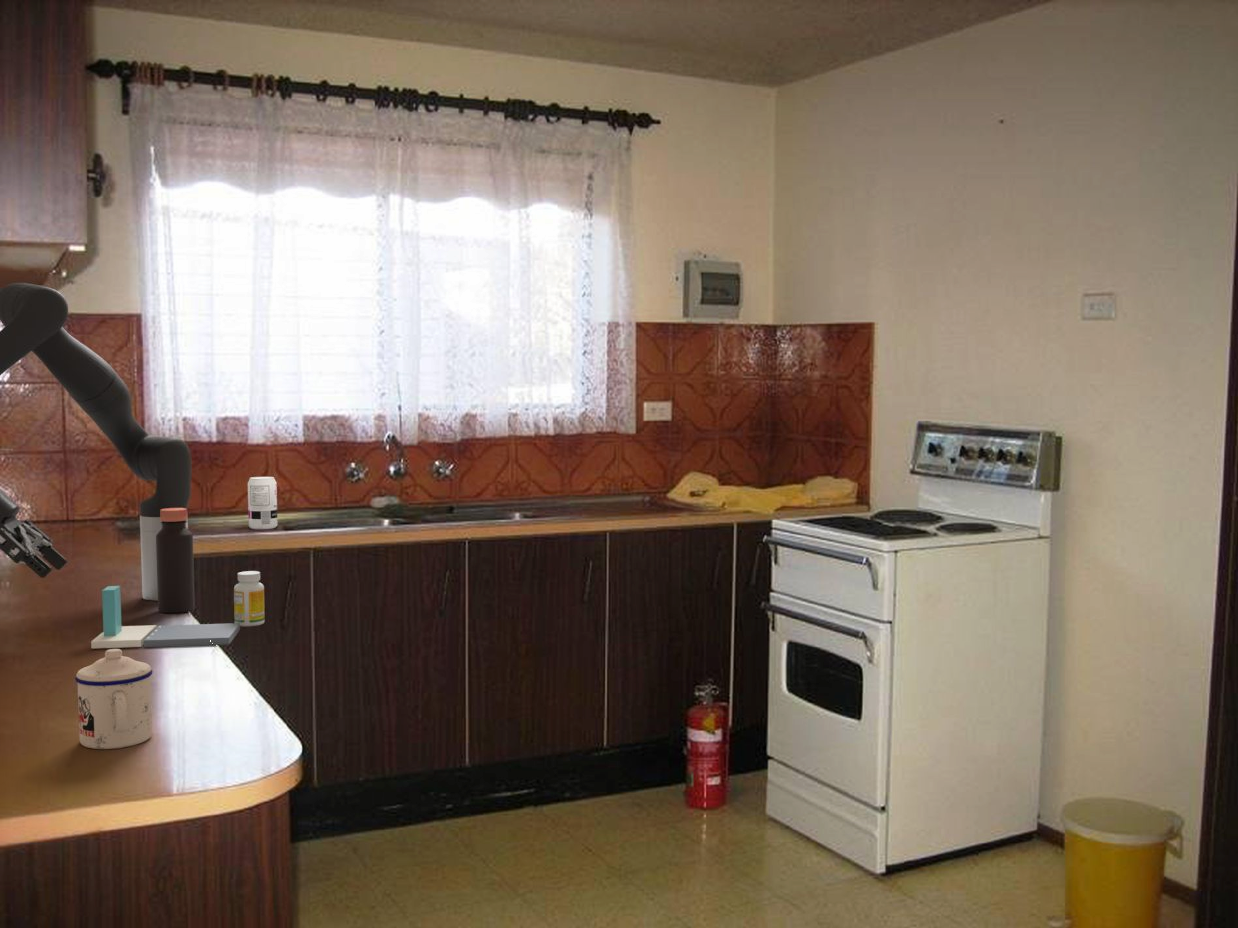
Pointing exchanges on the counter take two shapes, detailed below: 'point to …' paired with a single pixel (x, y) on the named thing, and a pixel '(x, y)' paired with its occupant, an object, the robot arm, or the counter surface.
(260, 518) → the supplement can
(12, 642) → the counter surface
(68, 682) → the counter surface
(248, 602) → the supplement bottle
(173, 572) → the vinegar
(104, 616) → the teal block on base
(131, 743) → the teacup with lid
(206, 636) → the board
